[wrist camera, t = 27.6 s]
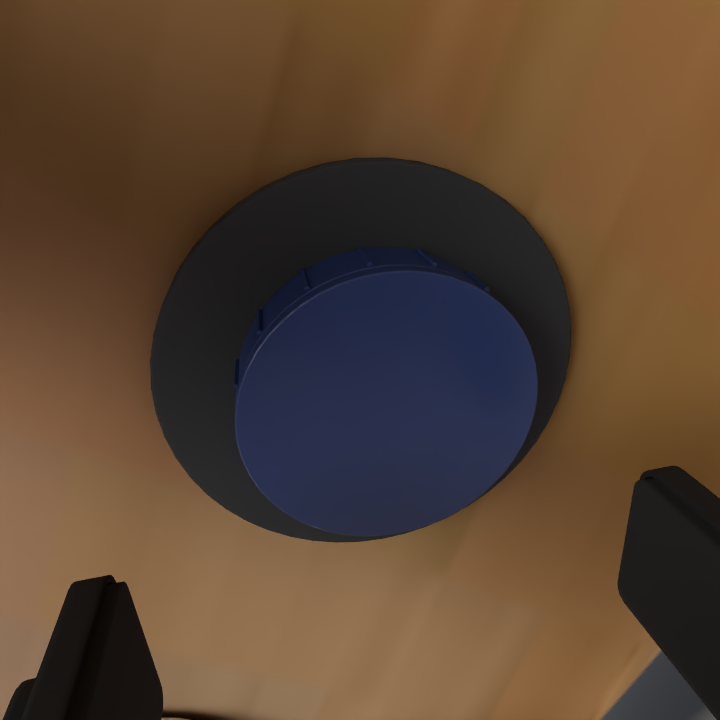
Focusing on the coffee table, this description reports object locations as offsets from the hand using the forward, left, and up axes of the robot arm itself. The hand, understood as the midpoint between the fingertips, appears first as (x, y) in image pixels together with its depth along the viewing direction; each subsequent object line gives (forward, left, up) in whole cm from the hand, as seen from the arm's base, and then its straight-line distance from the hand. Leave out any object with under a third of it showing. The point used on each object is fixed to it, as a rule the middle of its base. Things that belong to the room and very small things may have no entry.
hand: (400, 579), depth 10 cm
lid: (+1, 0, -4) cm, 4 cm away
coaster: (+1, 0, -6) cm, 6 cm away
